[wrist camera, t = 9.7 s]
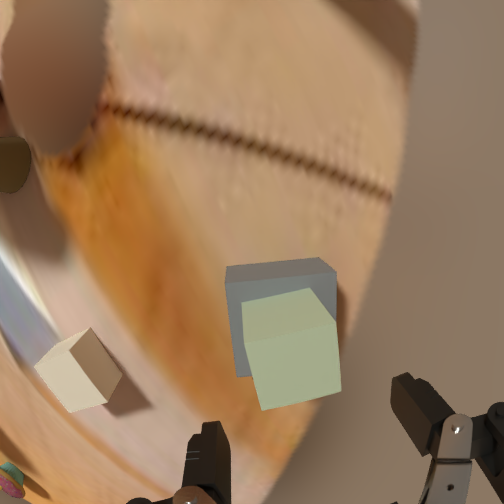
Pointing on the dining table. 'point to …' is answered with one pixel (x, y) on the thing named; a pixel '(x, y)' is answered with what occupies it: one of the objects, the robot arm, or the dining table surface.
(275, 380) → the sage block
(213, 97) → the dining table surface
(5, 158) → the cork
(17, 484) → the cupcake
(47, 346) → the dining table surface
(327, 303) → the slate block
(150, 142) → the dining table surface
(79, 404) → the cream block
